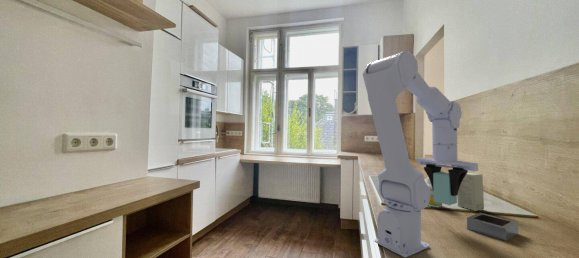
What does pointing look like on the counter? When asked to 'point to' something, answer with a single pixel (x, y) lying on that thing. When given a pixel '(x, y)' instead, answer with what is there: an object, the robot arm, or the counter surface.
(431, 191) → the supplement bottle
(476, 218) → the socket
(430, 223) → the counter surface
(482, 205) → the skincare box
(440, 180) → the peg
